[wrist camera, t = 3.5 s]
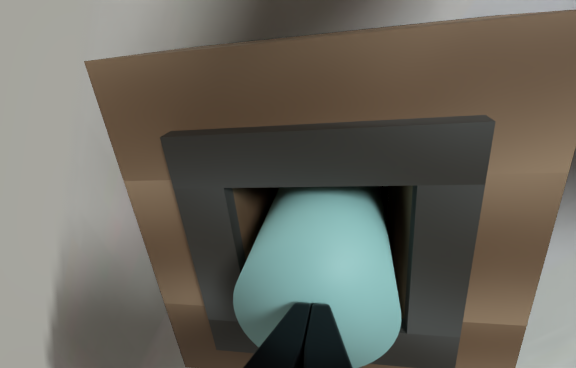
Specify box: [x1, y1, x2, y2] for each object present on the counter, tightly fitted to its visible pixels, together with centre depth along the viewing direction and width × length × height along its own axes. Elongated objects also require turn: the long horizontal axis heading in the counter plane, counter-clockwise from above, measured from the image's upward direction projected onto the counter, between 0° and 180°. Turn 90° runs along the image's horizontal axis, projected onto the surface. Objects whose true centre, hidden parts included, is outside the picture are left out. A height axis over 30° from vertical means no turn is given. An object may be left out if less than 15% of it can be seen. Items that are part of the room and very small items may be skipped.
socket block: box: [84, 10, 576, 368], centre depth 13 cm, size 12×12×7 cm
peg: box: [233, 186, 401, 368], centre depth 10 cm, size 4×4×6 cm
